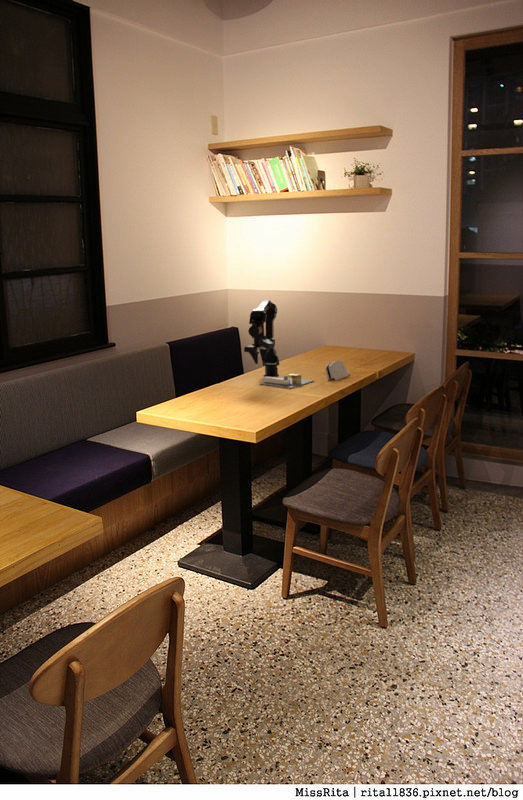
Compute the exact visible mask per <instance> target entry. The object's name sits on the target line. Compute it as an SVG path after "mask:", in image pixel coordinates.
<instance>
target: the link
mask: <svg viewBox="0 0 523 800" xmlns="http://www.w3.org/2000/svg"><path fill="white" fill-rule="evenodd" d="M283 376H284V378H280V377H277V376H274V377H269V376H263V382H270V383H277V384H282V385H289V384H290V379H288V375H283Z"/></svg>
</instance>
